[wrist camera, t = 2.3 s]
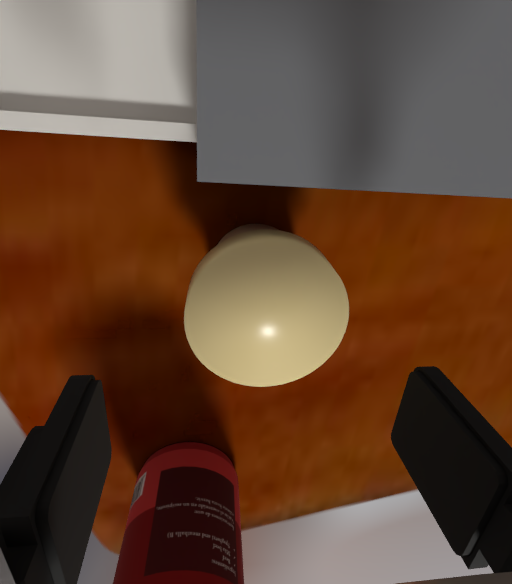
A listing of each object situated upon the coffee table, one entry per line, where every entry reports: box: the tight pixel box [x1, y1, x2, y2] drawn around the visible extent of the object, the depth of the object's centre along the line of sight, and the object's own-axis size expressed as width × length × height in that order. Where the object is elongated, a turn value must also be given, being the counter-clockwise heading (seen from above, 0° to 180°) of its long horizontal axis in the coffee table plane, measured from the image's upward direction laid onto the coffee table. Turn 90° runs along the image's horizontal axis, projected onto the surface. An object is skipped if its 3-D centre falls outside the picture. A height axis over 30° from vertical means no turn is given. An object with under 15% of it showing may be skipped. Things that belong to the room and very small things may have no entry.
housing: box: [196, 0, 512, 198], centre depth 14 cm, size 14×13×6 cm
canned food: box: [113, 442, 244, 584], centre depth 23 cm, size 8×8×11 cm
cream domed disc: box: [184, 229, 349, 387], centre depth 16 cm, size 7×7×2 cm
